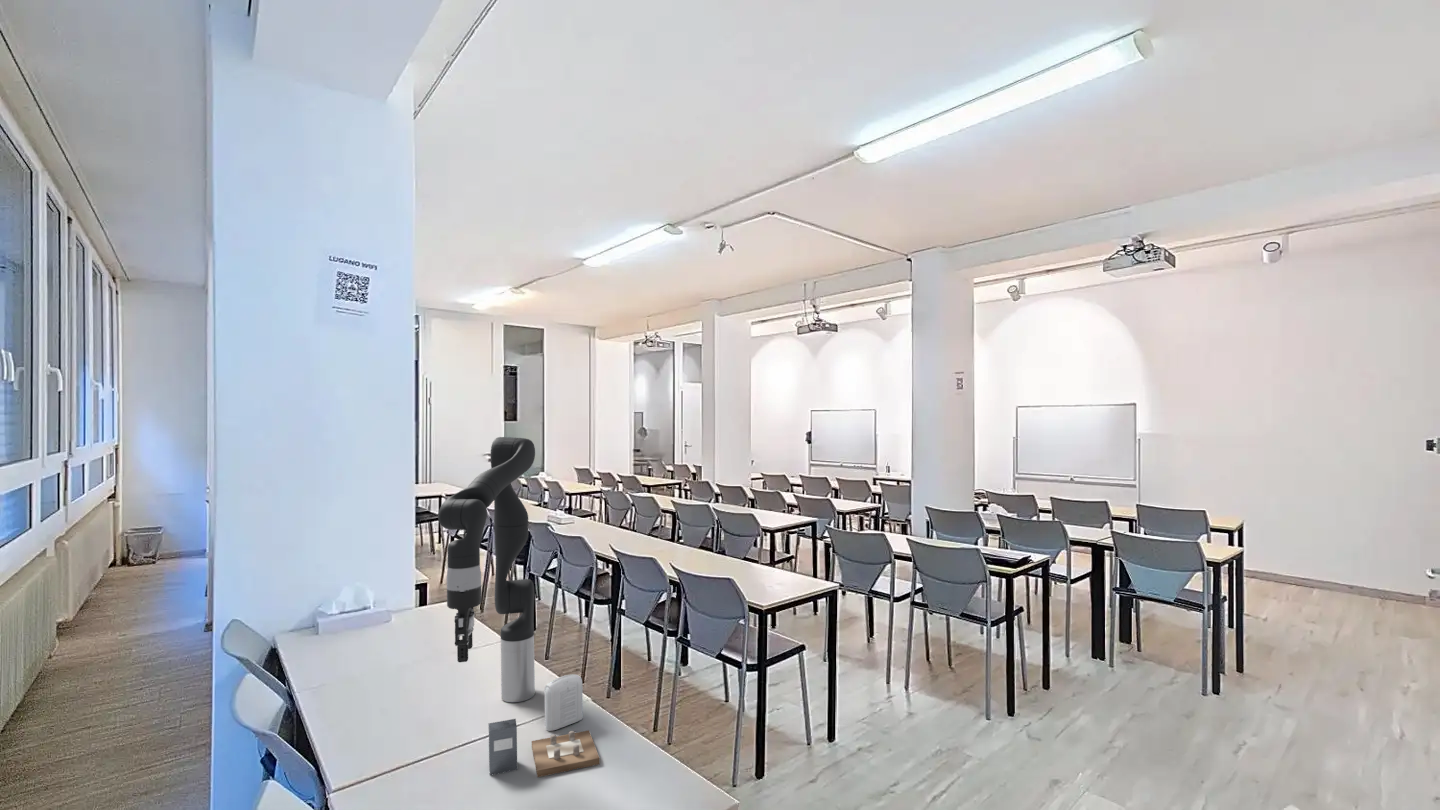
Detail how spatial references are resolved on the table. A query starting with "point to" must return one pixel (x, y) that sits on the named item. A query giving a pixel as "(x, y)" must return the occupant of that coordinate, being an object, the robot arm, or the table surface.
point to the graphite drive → (502, 746)
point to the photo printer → (563, 702)
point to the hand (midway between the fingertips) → (465, 654)
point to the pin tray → (564, 753)
